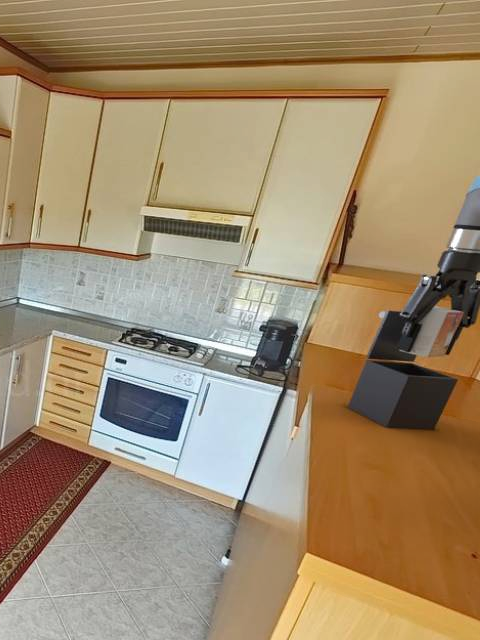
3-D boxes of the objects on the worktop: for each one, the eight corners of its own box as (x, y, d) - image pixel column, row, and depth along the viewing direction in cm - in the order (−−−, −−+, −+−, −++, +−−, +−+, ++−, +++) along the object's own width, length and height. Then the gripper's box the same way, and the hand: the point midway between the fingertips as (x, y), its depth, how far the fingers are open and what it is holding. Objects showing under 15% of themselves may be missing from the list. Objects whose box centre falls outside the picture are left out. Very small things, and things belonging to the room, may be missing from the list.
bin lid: (436, 314, 115) (415, 308, 120) (389, 310, 114) (369, 305, 119) (413, 361, 120) (394, 354, 125) (368, 358, 119) (350, 351, 124)
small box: (426, 358, 108) (447, 312, 104) (398, 350, 113) (416, 306, 109) (445, 356, 112) (466, 311, 108) (416, 349, 116) (435, 305, 112)
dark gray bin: (434, 429, 114) (458, 379, 110) (386, 427, 113) (409, 376, 109) (391, 409, 125) (411, 362, 120) (347, 407, 124) (366, 359, 119)
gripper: (493, 253, 109) (448, 349, 117) (405, 245, 106) (365, 344, 114) (532, 257, 102) (481, 359, 110) (438, 249, 99) (394, 353, 107)
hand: (422, 351), depth 112 cm, fingers closed on small box, 9 cm apart
